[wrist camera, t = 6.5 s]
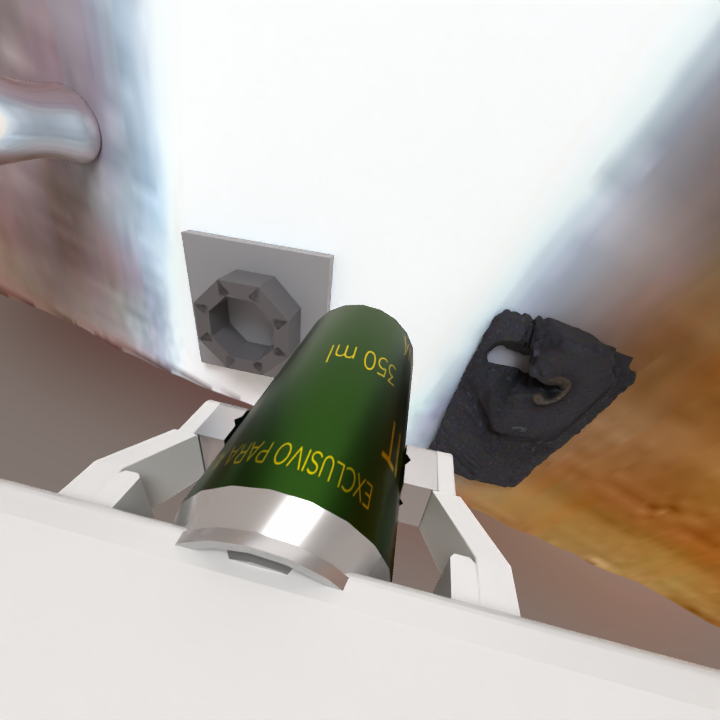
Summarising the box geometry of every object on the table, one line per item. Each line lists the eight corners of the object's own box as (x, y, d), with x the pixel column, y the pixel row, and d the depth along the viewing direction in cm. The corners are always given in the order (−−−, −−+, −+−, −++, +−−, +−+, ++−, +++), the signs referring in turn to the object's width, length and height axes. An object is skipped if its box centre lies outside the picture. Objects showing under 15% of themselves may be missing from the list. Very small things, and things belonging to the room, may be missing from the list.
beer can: (313, 383, 19) (175, 633, 9) (311, 292, 16) (106, 506, 6) (406, 397, 18) (375, 689, 8) (422, 306, 15) (402, 574, 5)
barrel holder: (333, 255, 32) (319, 268, 28) (324, 381, 40) (311, 406, 36) (189, 230, 33) (155, 238, 29) (207, 356, 41) (183, 377, 37)
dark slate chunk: (407, 443, 43) (404, 471, 39) (506, 292, 31) (517, 312, 27) (514, 488, 43) (522, 521, 39) (652, 357, 31) (684, 385, 27)
